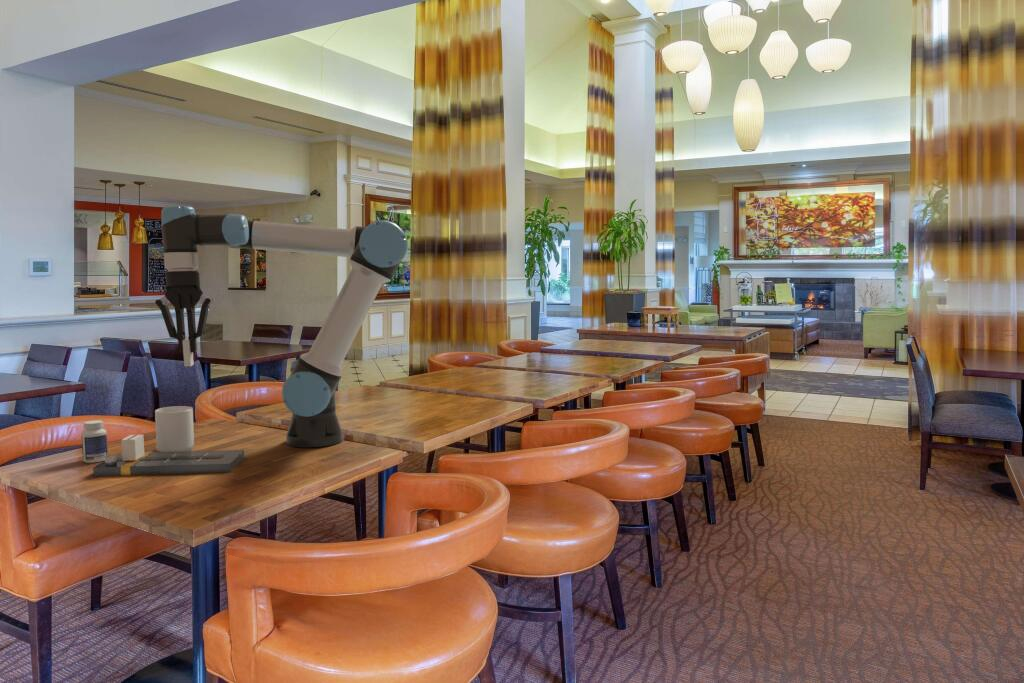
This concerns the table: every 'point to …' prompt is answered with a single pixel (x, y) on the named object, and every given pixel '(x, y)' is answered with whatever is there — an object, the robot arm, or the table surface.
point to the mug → (174, 429)
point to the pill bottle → (94, 442)
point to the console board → (171, 463)
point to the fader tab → (132, 447)
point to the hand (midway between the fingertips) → (189, 365)
